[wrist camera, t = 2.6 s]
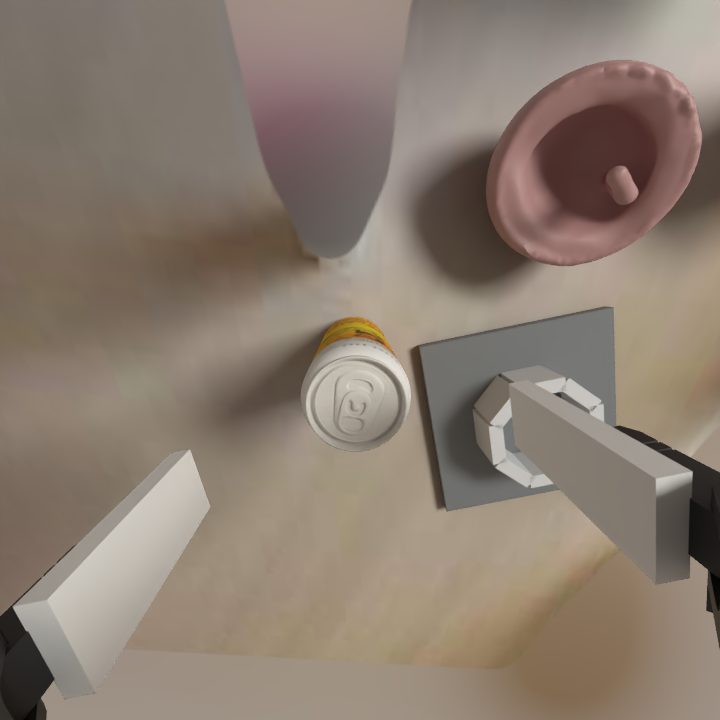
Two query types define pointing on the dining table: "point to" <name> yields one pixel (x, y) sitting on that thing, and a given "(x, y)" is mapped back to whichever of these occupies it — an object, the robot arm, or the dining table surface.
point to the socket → (492, 398)
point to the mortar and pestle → (593, 162)
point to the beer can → (355, 387)
